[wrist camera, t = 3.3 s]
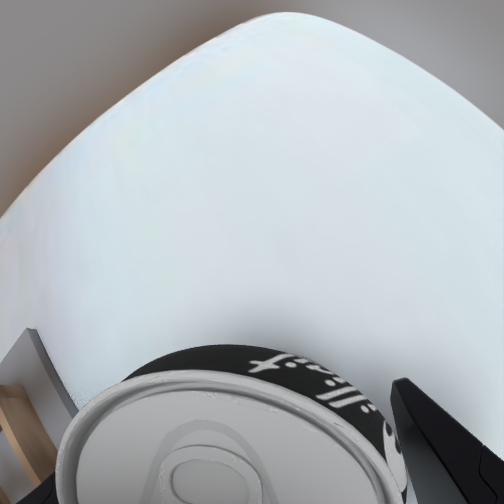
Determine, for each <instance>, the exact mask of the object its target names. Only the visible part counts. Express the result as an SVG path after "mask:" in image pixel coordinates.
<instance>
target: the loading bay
mask: <svg viewBox="0 0 504 504" xmlns="http://www.w3.org/2000/svg"><path fill="white" fill-rule="evenodd" d="M77 413H78V410H77V408H76V407H75V405H74V403H73V402H72V400H71V398H70V396H69V395H68V393H67V391H66V389H65V388H64V386H63V384H62V382H61V380H60V378H59V377H58V375H57V373H56V371H55V369H54V367H53V365H52V363H51V361H50V359H49V357H48V355H47V353H46V351H45V349H44V346H43V344H42V342H41V340H40V338H39V335H38V333H37V331H36V330H34V329H30V328H26V329H25V331H24V332H23V333H22V335H21V336H20V337H19V339H18V340H17V341H16V343H15V344H14V345H13V347H12V348H11V349H10V351H9V352H8V354H7V355H6V356H5V358H4V359H3V361H2V362H1V364H0V504H16V503H17V502H18V501H20V500H21V499H22V498H24V497H25V496H26V495H28V494H29V493H30V492H31V491H33V490H34V489H35V488H36V487H37V486H39V485H40V484H41V483H42V482H43V481H44V480H45V479H46V478H47V477H48V476H49V475H50V474H53V472H54V471H55V470H56V462H57V455H58V451H59V447H60V444H61V441H62V438H63V435H64V433H65V432H66V430H67V428H68V426H69V424H70V422H71V421H72V420H73V418H74V417H75V416H76V414H77Z"/></svg>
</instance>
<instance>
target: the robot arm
mask: <svg viewBox="0 0 504 504" xmlns="http://www.w3.org/2000/svg"><path fill="white" fill-rule="evenodd" d="M390 399H391V406H392V410H393V415H394V419H395V424H396V429H397V434H398V439H399V443H400V447H401V451H402V454H403V457H404V460H405V463H406V466H407V469H408V472H409V475H410V478H411V482H412V485H413V488H414V491H415V495H416V498H417V501H418V504H504V461H503V460H502V459H501V458H499V457H498V456H497V455H496V454H494V453H493V452H492V451H491V450H490V449H489V448H487V447H486V446H485V445H483V443H482V442H480V441H479V440H478V439H477V438H476V437H475V436H474V435H472V434H471V433H470V432H469V431H468V430H467V429H466V428H464V427H463V426H462V425H461V424H460V423H459V422H458V421H456V420H455V419H454V418H453V417H452V416H451V415H450V414H448V413H447V412H446V411H445V410H444V409H443V408H441V407H440V406H439V405H438V404H437V403H436V402H435V401H433V400H432V399H431V398H430V397H429V396H428V395H426V394H425V393H424V392H423V391H422V390H421V389H420V388H418V387H417V386H416V385H415V384H414V383H413V382H411V381H410V380H409V379H408V378H400V379H397V380H394V381H393V383H392V390H391V397H390ZM16 504H59V501H58V497H57V491H56V470H55V471H54V472H53V474H50V475H49V476H48V477H47V478H46V479H45V480H44V481H43V482H42V483H41V484H40V485H39V486H37V487H36V488H35V489H34V490H33V491H31V492H30V493H29V494H28V495H26V496H25V497H24V498H22V499H21V500H20V501H18V502H17V503H16Z"/></svg>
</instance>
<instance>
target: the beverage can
mask: <svg viewBox="0 0 504 504" xmlns="http://www.w3.org/2000/svg"><path fill="white" fill-rule="evenodd" d="M56 491H57V497H58V501H59V504H405V503H406V495H407V476H406V469H405V463H404V459H403V455H402V452H401V449H400V446H399V444H398V441H397V439H396V437H395V435H394V433H393V431H392V429H391V427H390V426H389V424H388V423H387V421H386V420H385V419H384V417H383V416H382V415H381V413H380V412H379V411H378V409H377V408H376V407H375V406H374V405H373V404H372V403H371V402H370V401H369V400H368V399H367V398H366V397H365V396H364V395H363V394H362V393H360V392H359V391H358V390H357V389H356V388H355V387H353V386H352V385H350V384H349V383H348V382H346V381H345V380H343V379H342V378H340V377H339V376H337V375H336V374H334V373H333V372H331V371H329V370H328V369H326V368H324V367H323V366H321V365H320V364H318V363H316V362H314V361H312V360H310V359H307V358H304V357H301V356H297V355H293V354H289V353H285V352H281V351H276V350H272V349H268V348H262V347H255V346H246V345H230V344H227V345H207V346H200V347H194V348H189V349H185V350H181V351H177V352H174V353H171V354H168V355H165V356H162V357H160V358H158V359H155V360H153V361H151V362H149V363H148V364H146V365H144V366H142V367H141V368H139V369H137V370H136V371H134V372H133V373H132V374H130V375H129V376H128V377H127V378H125V379H124V380H123V381H122V382H120V383H119V384H116V385H114V386H111V387H109V388H107V389H106V390H104V391H103V392H101V393H100V394H99V395H97V396H96V397H94V398H93V399H91V400H90V401H89V402H88V403H87V404H86V405H85V406H84V407H83V408H82V409H81V410H80V411H79V412H78V413H77V414H76V416H75V417H74V418H73V420H72V421H71V422H70V424H69V426H68V428H67V430H66V432H65V433H64V435H63V438H62V441H61V444H60V447H59V451H58V455H57V462H56Z"/></svg>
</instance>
